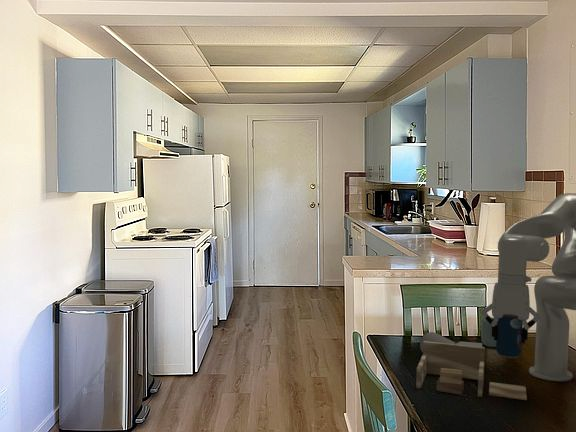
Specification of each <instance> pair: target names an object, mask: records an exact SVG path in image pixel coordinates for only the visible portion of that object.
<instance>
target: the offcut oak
mask: <svg viewBox="0 0 576 432" xmlns="http://www.w3.org/2000/svg"><path fill="white" fill-rule="evenodd" d="M439 376H440V382H443V383H452V384H461V385H462V381H463V378H462V370H456V369H447V368H441V373H440V375H439Z"/></svg>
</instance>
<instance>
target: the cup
mask: <svg viewBox="0 0 576 432" xmlns="http://www.w3.org/2000/svg"><path fill="white" fill-rule="evenodd" d="M490 317H491V316H490ZM491 318H492V319H493V318H494V317H493V316H492V317H491ZM480 322H481V323H480V337H481V343H482V345H484V346H485V347H487V348H492V347H493V348H495V349H496V341H495V340H494V337H492V326H491V324H490V323H489V322H488V321H487V320H486V319H485V317H482V318H481V321H480ZM496 326H497V324H496Z"/></svg>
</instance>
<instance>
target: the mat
mask: <svg viewBox="0 0 576 432" xmlns="http://www.w3.org/2000/svg"><path fill="white" fill-rule="evenodd" d="M488 387H489V389H488V396H493V397H500V398H507V399H516V400H524V401H528V396H527V388H526V386H525V385H517V384H509V383H501V382H493V381H489V386H488Z"/></svg>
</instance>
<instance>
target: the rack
mask: <svg viewBox="0 0 576 432" xmlns="http://www.w3.org/2000/svg"><path fill="white" fill-rule="evenodd" d="M485 347H486V346H485ZM485 347H484V346H482V347H476V346H467V345H457V344H448V343H438V342H429V341H424V342H423V352H422V355H421V358H420V360H419V363H418V365H416V366H417V367H416V380H415V381H416V383H415V385H416V387H415V388H416V389H419V390H420V389H421V388H422V385H423V382H424V381H425V378H426V375H427V374H428V375H429V374H430V375H437V376H440V373H441V368H447V369H456V370H462V379H468V380H477V384H478V385H477V397H478V398H483V391H484V380H485V379H484V377H485V350H486V349H485Z"/></svg>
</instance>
